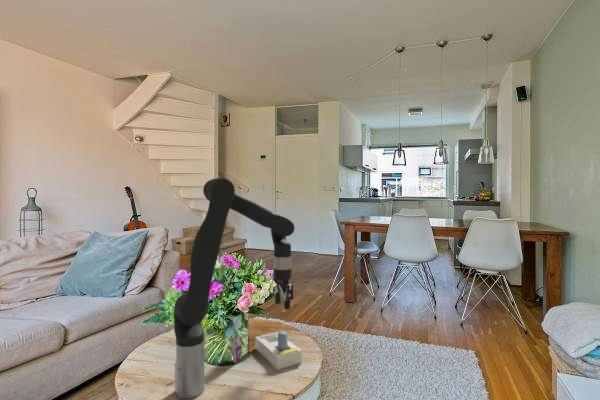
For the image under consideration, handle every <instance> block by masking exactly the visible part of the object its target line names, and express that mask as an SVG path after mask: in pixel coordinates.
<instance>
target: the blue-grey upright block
mask: <svg viewBox="0 0 600 400" xmlns="http://www.w3.org/2000/svg"><path fill="white" fill-rule="evenodd" d="M277 332H278V351H279V352H281V351H285V350H288V347H287V340H288V332H287V331H285V330H283V331H277Z"/></svg>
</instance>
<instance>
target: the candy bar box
mask: <svg viewBox="0 0 600 400" xmlns="http://www.w3.org/2000/svg"><path fill="white" fill-rule="evenodd" d="M247 320H248V350H249V351H250V322H249V321H250V315H249V314H247ZM232 349H233V350H232V351H233V358H234V363H233V364H238V363H239V362H240V361H241V360H240V357H241V353H242V347H241V341H240V338H239V336H237V335H235V336H234V337H233V341H232Z"/></svg>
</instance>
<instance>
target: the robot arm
mask: <svg viewBox="0 0 600 400" xmlns="http://www.w3.org/2000/svg"><path fill="white" fill-rule="evenodd" d="M235 187H236V186H235V185H234V183H233V182H232V180H231V179H230V178H226V177H217V178H212V179H210V180H208V181H206V182H205V184H204V185H203V190H202V192H203V195H204V197H205V198H206V200H207V201H209V204H208V208H207V209H208V210H207V213H206V216H205V218H204V219H203V222H202V223H201V225H200V226H199V228H198V231H197V232H196V234H195V236H194V240H193V243H192V247H191V251H190V252H191V253H190V259H189V260H190V261H189V262H190V264H189V267H190V268H189V271H190V278H189V285H188V289H187V292H185V293H183V294H181V295H180V296H179V297H178V298H177V299H176V301H175V304H174V308H173V322H174V323H173V327H174V335H175V339H176V340H175V345H176V346H175V347H176V350H175V353H176V355H175V361H176V362H175V363H174V392H175V395H176V397H177V399H178V400H180V399H191V398H196V397H199V396H200V395H202V394H203V393H204V391H205V331H204V328H203V325H202V321H203V320H204V319H205V317H206V316H207V313H208V307H209V299H210V290H211V286H212V281H213V277H214V273H215V270H216V265H217V260H218V257H219V254H220V248H221V245H222V240H223V237H224V232H225V227H226V222H227V218H228V215H229V212H230V210H232V211H235V212H237V213H239V214H241V216H244V217H245V218H248V219H249V220H251V221H253V222H254V223H256V224H258V225H259V226H262V227H263V228H264V227H265V228H268V229H270V234H271V238H272V243H273V263H272V266H273V267H272V268H273V270H272V271H273V272H272V273H273V275H272V277H273V278H272V281H273V280H274V281H275V283H276V287H275V289H274V290H273V292H272V293H273V294H274V304H276V305H279V304H281V295H282V296H283V301H284V303H283V304H284V310H285V311H287V310H290V309H291V300H293V299H294V284H292V283H290V282H289V280H291V279H292V277H293V276H292V273H293V272H292V270H293V269H292V267H293V266H292V263H293V261H292V245H291V242H289V241H288V240H287V237H289V236H291V235H292V234H294V232H295V225H294V222H293V221H292V220H291V219H290V218H287V217H286V216H283V215H280V214H278V213H275V212H274V211H273V210H270V209H269V208H267V207H265V206H264V205H263V204H260V203H258V202H256V201H253V200H252V199H249V198H246V197H244V196H242V195H239V194H238V193H236V188H235Z"/></svg>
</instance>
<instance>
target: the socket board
mask: <svg viewBox="0 0 600 400" xmlns="http://www.w3.org/2000/svg"><path fill="white" fill-rule="evenodd" d="M278 332H279V331H277V332H270V333H265V334H262V335H258V336H255V342H254V343H255V347H254V348H255V349H256V350H257V351H258V352H259V354H260V355H262V356H263V357H264V358H265V359H266V360H267V361H268V362H269V363H270V364H271V365H272V367H274V369H276V370H277V371H278V370H281V369H285V368H288V367H292V366H295V365H299V364H301V363H302V362H303V359H302V358H303V357H302V356H303V353H302V352H303V351H302V349H301V348H300V347H298V346H296V344H294V343H293V342H291V341H290V340H289V339H287V347H288V350H285V351H281V352H279V351H278Z"/></svg>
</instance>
